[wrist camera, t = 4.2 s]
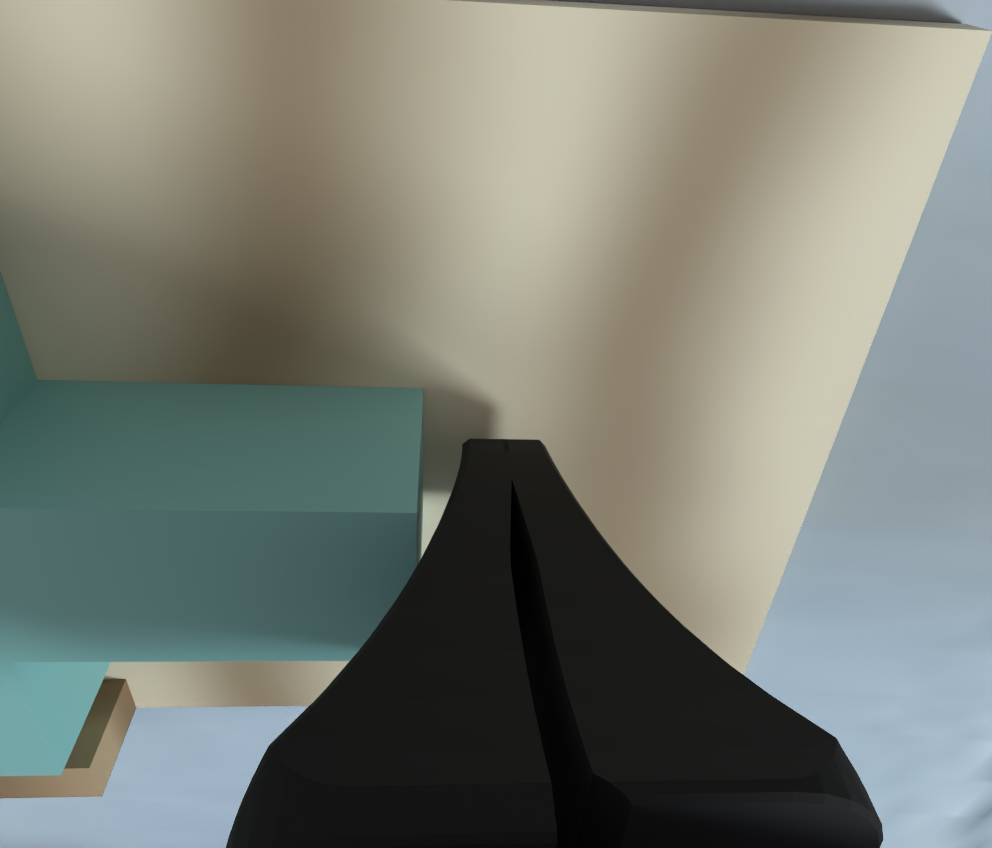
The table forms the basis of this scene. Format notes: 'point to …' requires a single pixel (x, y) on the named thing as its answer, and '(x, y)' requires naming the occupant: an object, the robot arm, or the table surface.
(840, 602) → the table surface
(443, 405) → the board
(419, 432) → the t block
